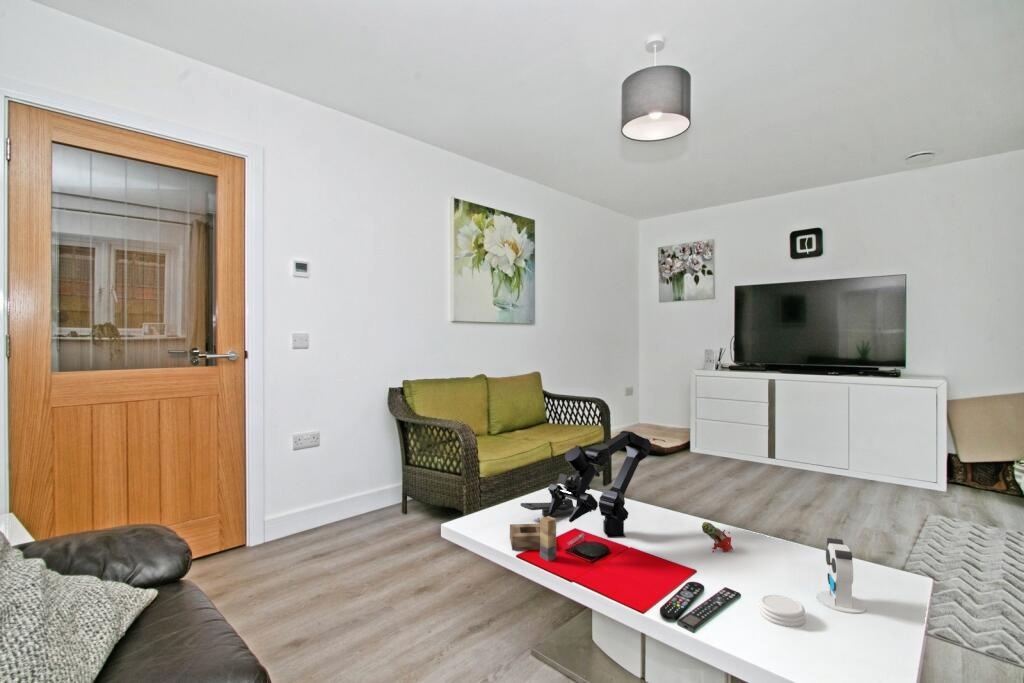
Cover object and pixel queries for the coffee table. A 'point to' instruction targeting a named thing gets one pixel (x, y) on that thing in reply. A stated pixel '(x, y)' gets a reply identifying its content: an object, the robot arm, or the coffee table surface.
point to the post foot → (525, 536)
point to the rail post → (548, 538)
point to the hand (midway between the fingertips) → (559, 518)
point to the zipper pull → (562, 511)
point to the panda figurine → (840, 580)
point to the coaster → (782, 610)
